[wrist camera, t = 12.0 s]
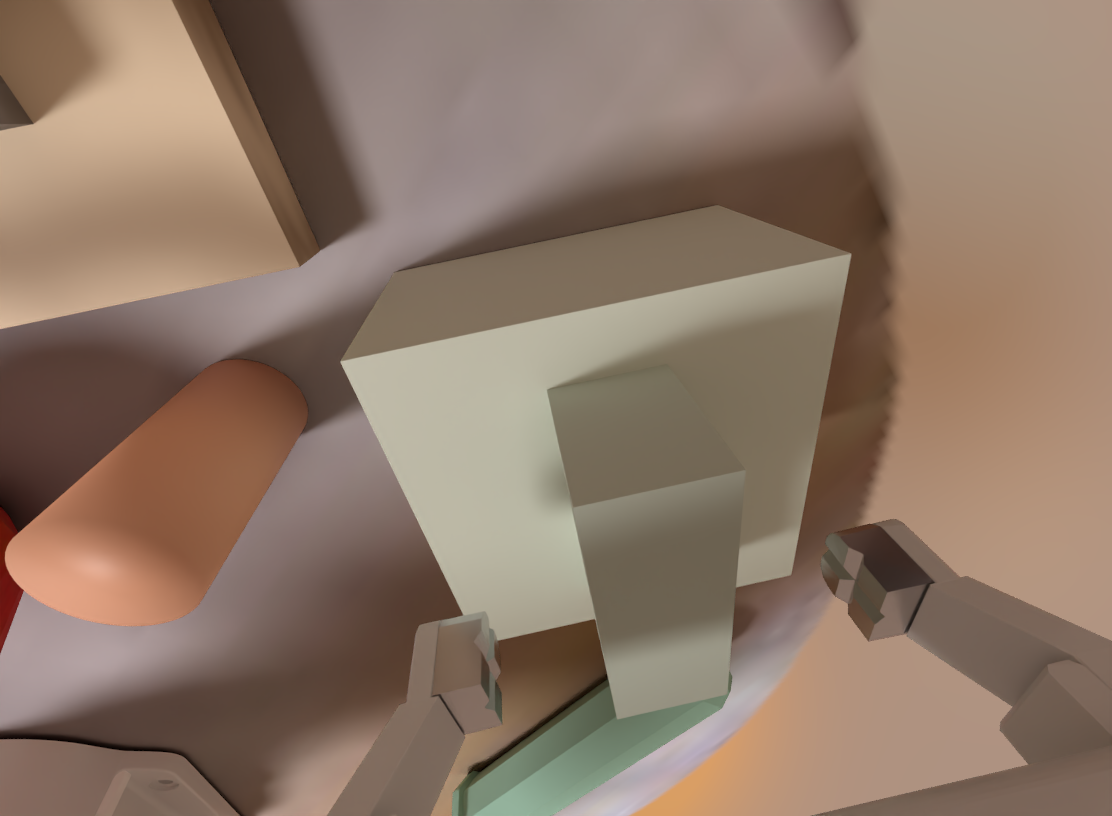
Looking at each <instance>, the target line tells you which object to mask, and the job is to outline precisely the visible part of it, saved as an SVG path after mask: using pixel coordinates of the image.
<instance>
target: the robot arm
mask: <svg viewBox="0 0 1112 816" xmlns="http://www.w3.org/2000/svg"><path fill="white" fill-rule="evenodd" d="M825 544H826V546H827V547H828V548H829V550H828V551H827V552H826V553H825V554H824V555H823V556H822V560H821V570H822V574H823V578H824V580H825V581H826V583H827V585H828V587H829V589H830V590H831V591H832V593H833V594H834V596H835V597H837V598H839V599H841V600H843V601H845V602H846V603H848V614H849V616H850V617H851V618H852V620H853V621H854V623H855V624H856V625H857V627H858V628H859V629H860V630H861V632H862V633H863V635H864V636H865V637H866V638H867V640H868V641H873V640H878V639H884V638H889V637H894V636H899V635H904V634H907V637H908V638H910V639H911V640H913V641H914V642H916V643H917V644H919V645H920V646H922V647H923V648H925V649H926V650H928V651H929V652H931V653H932V654H934V655H935V656H937V657H939V658H940V659H941V660H943V661H944V662H946V663H948V664H949V665H950V666H952V667H954V668H955V669H957V670H958V671H960V672H961V673H963V674H964V675H966V676H967V677H969V678H970V679H972V680H973V681H975V682H976V683H978V684H979V685H981V686H982V687H984V688H985V689H987V690H988V691H990V692H991V693H993V694H994V695H996V696H998V697H999V698H1000V699H1002V700H1003V701H1005V702H1006V703H1008V704H1009V705H1011V706H1013V707H1012V709H1011V710H1010V711H1009V712H1008V713H1007V715H1006V716H1005V717H1004V718H1003V719H1002V721H1001V722H1000V731H1001V732H1002V733H1003V734H1004V735H1005V737H1006V738H1007V739H1008V740H1009V741H1010V743H1011V744H1012V745H1013V746H1014V747H1015V749H1016V750H1017V751H1018V752H1019V754H1020V755H1021V756H1022V757H1023V758H1024V760H1025V761H1026V762H1027V763H1028V764H1029V765H1025V766H1021V767H1016V768H1012V769H1008V770H1004V771H1000V772H995V773H991V774H987V775H983V776H978V777H974V778H970V779H965V780H961V781H957V782H952V783H948V784H944V785H940V786H935V787H931V788H927V789H923V790H918V791H914V792H910V793H906V794H901V795H897V796H893V797H889V798H884V799H880V800H876V801H872V802H868V803H863V804H859V805H854V806H850V807H846V808H842V809H838V810H833V811H829V812H824V813H820V814H816V815H812V816H1112V641H1111V640H1108V639H1106V638H1104V637H1102V636H1100V635H1097V634H1095V633H1093V632H1091V631H1088V630H1086V629H1084V628H1082V627H1079V626H1077V625H1075V624H1073V623H1071V622H1068V621H1066V620H1064V619H1061V618H1059V617H1057V616H1055V615H1053V614H1050V613H1048V612H1046V611H1044V610H1042V609H1039V608H1037V607H1035V606H1033V605H1030V604H1028V603H1026V602H1023V601H1021V600H1019V599H1017V598H1015V597H1013V596H1010V595H1008V594H1006V593H1003V592H1001V591H999V590H997V589H995V588H992V587H990V586H988V585H986V584H984V583H981V582H979V581H977V580H975V579H973V578H970V577H968V576H965V577H959V576H958V575H957V574H956V573H955V572H954V571H953V570H952V569H951V568H950V567H949V566H948V565H947V564H946V563H945V562H943V560H942V559H940V558H939V557H938V556H937V555H936V554H935V553H934V552H933V551H932V550H931V549H930V548H929V547H928V546H927V545H926V544H925V543H924V542H923V541H921V540H920V538H918V537H917V536H916V535H915V534H914V533H913V532H912V531H911V530H910V529H909V528H908V527H907V526H906V525H905V524H904V523H902V522H901V521H898V520H896V519H890V520H886V521H882V522H878V523H874V524H867V525H863V526H858V527H854V528H850V529H846V530H842V531H838V532H834V533H831V534H829V535H828V536H827V538H826V542H825ZM500 673H501V660H500V651H499V644H498V640H497V637H496V634H495V632H494V630H493V629H491V628H489V618H488V616H487V614H486V612H485V611H482V612H478V613H473V614H468V615H464V616H459V617H454V618H450V619H445V620H439V621H434V622H430V623H426V624H421V625H419V627H418V629H417V632H416V635H415V642H414V649H413V657H412V664H411V671H410V678H409V685H408V692H407V699H406V703H403V704H399V706H398V707H397V709H396V710H395V712H394V713H393V715H392V717H391V718H390V720H389V721H388V723H387V724H386V726H385V727H384V729H383V730H382V732H381V733H380V735H379V737H378V738H377V740H376V741H375V743H374V744H373V746H372V747H371V749H370V750H369V752H368V753H367V755H366V756H365V758H364V760H363V761H362V763H361V764H360V766H359V767H358V769H357V770H356V772H355V773H354V775H353V776H352V778H351V780H350V781H349V783H348V784H347V786H346V787H345V789H344V790H343V792H342V793H341V795H340V796H339V798H338V799H337V801H336V803H335V804H334V806H333V807H332V809H331V810H330V812H329V813H328V815H327V816H430V815H431V813H432V811H433V808H434V806H435V804H436V802H437V799H438V797H439V795H440V793H441V790H442V788H443V786H444V784H445V781H446V779H447V777H448V775H449V772H450V770H451V768H452V766H453V764H454V761H455V759H456V757H457V755H458V752H459V750H460V748H461V746H462V743H463V741H464V739H465V736H464V735H465V734H469V733H473V732H477V731H481V730H485V729H489V728H492V727H496V726H500V725H502V692H501V690H500V688H499V686H498V684H497V682H496V680H497V678H498V676H499V674H500ZM0 816H240V815H239V814H238V813H237V812H236V811H235V810H234V809H233V808H232V807H231V806H230V805H229V804H228V803H227V802H226V801H225V800H224V799H223V797H222V796H221V795H220V794H219V793H218V792H217V791H216V790H215V789H214V788H213V787H212V786H211V785H210V784H209V783H208V782H207V781H206V780H205V778H204V777H203V776H202V775H201V774H200V773H199V772H198V771H197V770H196V769H195V768H194V767H193V766H192V765H191V764H190V763H189V762H188V761H187V760H186V759H185V758H184V757H183V756H181V755H178V754H174V753H167V752H151V751H121V750H114V749H107V748H102V747H96V746H91V745H85V744H78V743H71V742H62V741H51V740H33V739H1V740H0Z"/></svg>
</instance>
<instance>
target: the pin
mask: <svg viewBox="0 0 1112 816" xmlns="http://www.w3.org/2000/svg"><path fill="white" fill-rule="evenodd" d="M307 419H308V407H307V403H306V400H305V398H304V396H303V394H302V393H301V391H300V389H299V388H298V387H297V386H296V385H295V383H293V382H292V381H291V380H290V379H289V378H288V377H287V376H285V375H284V374H283V373H281V372H279V371H278V370H276V369H274V368H272V367H270V366H267V365H265V364H262V363H259V362H255V361H250V360H242V359H231V360H224V361H220V362H217V363H214V364H212V365H210V366H209V367H207V368H205V369H204V370H203V371H202V372H201V373H200V374H199V375H197V376H196V377H195V378H194V379H193V380H192V381H191V382H190V383H188V384H187V385H186V386H185V387H184V388H183V389H182V390H180V391H179V392H178V393H177V394H176V395H175V396H174V397H172V398H171V399H170V400H169V401H168V402H167V403H166V404H165V405H163V406H162V407H161V408H160V409H159V410H158V411H157V412H155V413H154V414H153V415H152V416H151V417H150V418H149V419H148V420H146V421H145V422H144V423H143V424H142V425H141V426H140V427H138V428H137V429H136V430H135V431H134V432H133V433H132V434H130V435H129V436H128V437H127V438H126V439H125V440H124V441H123V442H121V443H120V444H119V445H118V446H117V447H116V448H115V449H113V450H112V451H111V452H110V453H109V454H108V455H107V456H105V457H104V458H103V459H102V460H101V461H100V462H99V463H98V464H96V465H95V466H94V467H93V468H92V469H91V470H90V471H88V472H87V473H86V474H85V475H84V476H83V477H82V478H80V479H79V480H78V481H77V482H76V483H75V484H74V485H73V486H71V487H70V488H69V489H68V490H67V491H66V492H65V493H63V494H62V495H61V496H60V497H59V498H58V499H57V500H56V501H54V502H53V503H52V504H51V505H50V506H49V507H48V508H46V509H45V510H44V511H43V512H42V513H41V514H40V515H38V516H37V517H36V518H35V519H34V520H33V521H32V522H31V523H29V524H28V525H27V526H26V527H25V528H24V529H23V530H21V531H20V532H19V533H18V534H17V535H16V536H15V537H14V538H13V539H12V540H11V541H10V543H9V544H8V546H7V549H6V552H5V562H6V567H7V569H8V571H9V573H10V575H11V576H12V578H13V579H14V581H15V582H16V583H17V584H18V585H19V586H20V587H21V588H22V589H23V590H24V591H25V592H27V593H28V594H29V595H30V596H32V597H33V598H35V599H36V600H38V601H40V602H41V603H43V604H45V605H47V606H49V607H51V608H53V609H55V610H57V611H60V612H62V613H65V614H68V615H70V616H73V617H77V618H80V619H83V620H88V621H92V622H97V623H102V624H109V625H118V626H147V625H155V624H161V623H166V622H169V621H173V620H176V619H178V618H181V617H183V616H185V615H187V614H188V613H190V612H191V611H192V610H194V609H195V608H196V607H197V606H198V605H199V604H200V602H201V600H202V599H203V597H204V596H205V594H206V592H207V590H208V589H209V587H210V585H211V584H212V582H213V580H214V579H215V577H216V575H217V574H218V572H219V570H220V569H221V567H222V565H223V564H224V562H225V560H226V559H227V557H228V555H229V553H230V552H231V550H232V548H233V547H234V545H235V543H236V542H237V540H238V538H239V537H240V535H241V533H242V532H243V530H244V528H245V527H246V525H247V523H248V522H249V520H250V518H251V516H252V515H253V513H254V511H255V510H256V508H257V506H258V505H259V503H260V501H261V500H262V498H263V496H264V495H265V493H266V491H267V490H268V488H269V486H270V485H271V483H272V481H273V479H274V478H275V476H276V474H277V473H278V471H279V469H280V468H281V466H282V464H283V463H284V461H285V459H286V458H287V456H288V454H289V453H290V451H291V449H292V448H293V446H294V444H295V442H296V441H297V439H298V437H299V436H300V434H301V432H302V431H303V429H304V427H305V425H306V423H307Z"/></svg>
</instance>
